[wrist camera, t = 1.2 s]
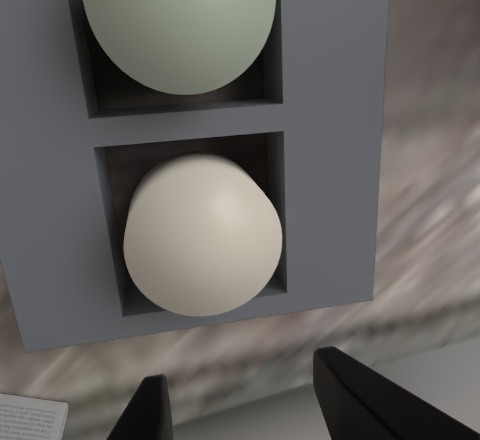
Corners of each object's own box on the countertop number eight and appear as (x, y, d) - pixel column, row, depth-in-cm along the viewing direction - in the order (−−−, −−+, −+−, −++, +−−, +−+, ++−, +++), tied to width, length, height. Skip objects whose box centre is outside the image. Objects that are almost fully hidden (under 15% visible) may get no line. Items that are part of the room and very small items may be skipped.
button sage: (250, -86, 15) (273, -122, 12) (256, 84, 17) (278, 88, 14) (81, -84, 14) (63, -122, 11) (109, 94, 16) (99, 101, 13)
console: (367, -423, 14) (418, -541, 11) (346, 271, 23) (372, 300, 20) (-152, -481, 12) (-244, -644, 9) (42, 313, 21) (25, 352, 18)
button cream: (259, 145, 18) (280, 161, 15) (264, 268, 20) (283, 305, 17) (119, 158, 17) (111, 178, 14) (138, 285, 19) (135, 326, 16)
